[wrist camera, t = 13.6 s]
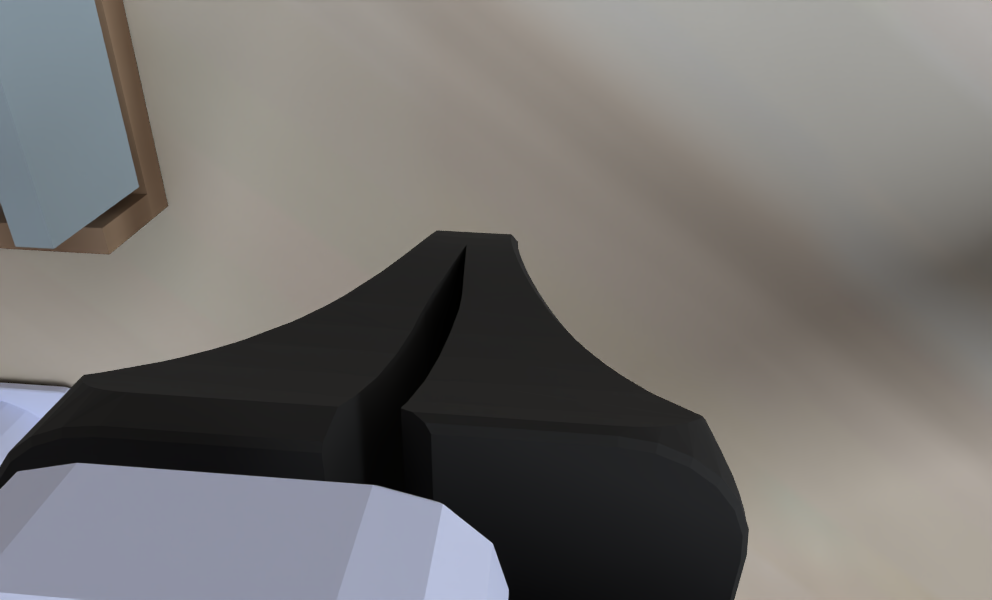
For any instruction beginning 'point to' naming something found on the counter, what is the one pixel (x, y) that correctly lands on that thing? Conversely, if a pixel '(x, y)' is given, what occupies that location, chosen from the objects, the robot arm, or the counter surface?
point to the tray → (58, 122)
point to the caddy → (150, 193)
